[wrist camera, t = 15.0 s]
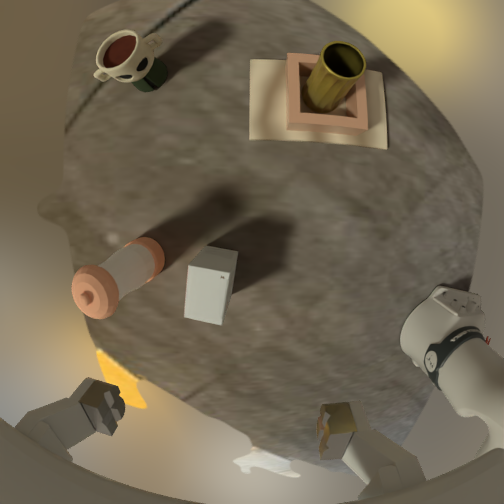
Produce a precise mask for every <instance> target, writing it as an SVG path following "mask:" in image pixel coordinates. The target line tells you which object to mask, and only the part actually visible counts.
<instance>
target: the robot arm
mask: <svg viewBox="0 0 504 504" xmlns="http://www.w3.org/2000/svg"><path fill="white" fill-rule="evenodd" d="M443 292H444V293H443ZM484 327H485V314H484V312H483V311H482V310H481V297H480V296H479V295H478V294H475V293H471V292H466V291H462V290H458V289H453V288H449V287H445V286H437V287H436V288H435V289H434V291H433V292H432V293H431V295H430V296H429V297H428V298H427V299H426V300H425V301H423V302H422V303H421V304H420V305H418V306H417V307H416V308H415V309H414V310H413V311H412V313H411V314H410V315H409V317H408V318H407V320H406V322H405V324H404V326H403V328H402V332H401V337H400V343H401V347H402V350H403V351H404V352H405V353H406V354H407V355H408V356H410V357H411V358H412V361H413V363H414V365H415V366H417V367H420V368H421V369H422V370H423V371H424V372H425V373H426V374H427V375H428V376H429V378H430V379H431V380H432V382H433V384H434V385H435V386H436V387H437V388H438V389H439V390H441V391H443V393H444V394H445V396H446V397H447V399H448V400H449V402H450V403H451V405H452V406H453V408H454V409H455V411H456V412H457V414H458V415H460V416H462V417H471V416H475V415H477V416H478V417H480V418H481V419H482V420H484V421H485V422H486V424H487V425H488V428H489V434H488V436H487V437H486V439H485V441H484V442H483V444H482V445H481V447H480V449H479V450H478V452H477V454H476V456H475V459H474V460H472V461H470V462H468V463H466V464H464V465H462V466H460V467H458V468H456V469H454V470H452V471H449V472H447V473H445V474H442V475H440V476H438V477H435V478H433V479H430V480H428V481H426V478H425V476H424V473H423V471H422V468H421V466H420V464H419V461H418V459H417V457H416V456H415V455H413V454H411V453H410V452H408V451H407V450H405V449H403V448H402V447H401V446H399V445H397V444H396V443H394V442H393V441H391V440H390V439H389V438H387V437H386V436H384V435H383V434H381V433H380V432H378V431H377V430H375V429H374V430H371V427H370V424H369V421H368V418H367V416H366V413H365V410H364V407H363V405H362V402H361V401H360V400H359V401H351V402H341V403H330V404H322V405H321V408H320V414H321V416H320V417H318V420H317V428H316V432H317V439H318V440H319V441H320V445H319V454H320V460H331V459H342V460H343V461H344V462H345V463H346V464H347V465H348V466H349V467H350V468H351V469H352V470H353V471H354V472H355V473H356V474H357V475H358V476H359V477H360V478H361V479H362V480H363V481H364V482H365V483H366V484H367V486H366V488H365V489H364V490H363V491H362V492H361V493H360V495H359V496H358V500H357V501H352V502H345V503H339V504H504V358H503V357H501V356H500V355H499V354H498V353H497V352H496V351H494V350H493V349H492V348H491V347H490V346H489V342H490V339H489V341H488V336H487V338H486V341H485V339H484V337H483V335H482V334H483V331H484ZM487 342H488V343H487ZM119 394H120V390H119V388H118V386H116V385H112V384H109V383H105V382H102V381H99V380H95V379H92V378H89V377H88V378H86V379H85V380H84V381H83V382H82V383H81V384H80V386H79V387H78V388H77V389H76V390H75V392H74V393H73V394H72V395H71V397H70V398H64V399H62V400H59V401H56V402H54V403H51V404H48V405H46V406H43V407H40V408H38V409H35V410H32V411H29V412H27V414H26V415H25V416H24V417H23V418H22V419H21V420H20V422H19V423H18V424H17V425H16V426H15V428H14V427H12V426H11V425H10V424H8V423H7V422H6V421H4V420H3V419H2V418H0V504H204V503H197V502H192V501H186V500H181V499H177V498H172V497H168V496H163V495H159V494H156V493H152V492H148V491H144V490H141V489H138V488H135V487H131V486H129V485H126V484H123V483H120V482H117V481H114V480H112V479H109V478H106V477H104V476H101V475H99V474H97V473H94V472H92V471H90V470H87V469H85V468H83V467H81V466H79V465H76V464H74V463H72V460H73V458H72V456H71V455H70V454H69V452H68V451H67V449H69V448H71V447H72V446H74V445H76V444H77V443H79V442H81V441H82V440H84V439H85V438H87V437H89V436H90V435H92V434H94V433H95V432H96V431H97V432H100V433H103V434H106V435H109V436H112V435H113V433H114V432H115V430H116V428H117V426H118V425H117V421H118V420H121V419H122V417H123V415H124V412H125V403H124V400H123V399H122V398H121V397H120V396H119Z"/></svg>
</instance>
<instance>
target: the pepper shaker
mask: <svg viewBox="0 0 504 504" xmlns="http://www.w3.org/2000/svg"><path fill="white" fill-rule="evenodd" d="M164 263H165V256H164V252H163V250H162V248H161V246H160V245H159V244H158V243H157V241H155V240H153V239H152V238H148V237H140V238H138V239H135V240H133V241H131V242H129V243H128V244H126V245H125V246H124V247H123V248H121V249H120V250H118V251H116V252H115V253H114V254H113V255H112V256H111V257H110V258H108V259H107V260H106V261H105V262H103V263H102V264H100V265H98V266H96V265H85V266H83V267H81V268H80V269H79V270H78V271H77V273H76V274H75V276H74V278H73V282H72V295H73V298H74V301H75V303H76V304H77V306H78V307H79V309H80V310H81V311H82V312H83V313H84V314H86V315H87V316H89V317H92V318H95V319H104V318H106V317H109V316H111V315H112V314H113V313H114V312H115V311H116V308H117V305H118V303H119V300H120V299H121V298H122V297H124V296H125V295H126V294H127V293H129V292H131V291H134V290H136V289H138V288H140V287H141V286H142V285H143V284H144V283H147V282H149V281H151V280H152V279H153V278H154V277H155V276H157V275H158V274H159V273H160V272H161V271H162V269H163V267H164Z"/></svg>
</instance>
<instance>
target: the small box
mask: <svg viewBox="0 0 504 504" xmlns="http://www.w3.org/2000/svg"><path fill="white" fill-rule="evenodd" d="M237 257H238V251H233V250H228V249H222V248H217V247H212V246H205V247H204V248H203V249H202V250H201V251H200V252H199V253H198V255H197V256H196V257H195V258H194V259H193V260H192V261H191V263H190V264H189V265H188V272H187V284H186V295H185V308H184V317H187V318H191V319H195V320H200V321H204V322H208V323H213V324H218V325H223V322H224V319H225V315H226V312H227V308H228V305H229V302H230V298H231V295H232V288H233V282H234V276H235V269H236V263H237Z"/></svg>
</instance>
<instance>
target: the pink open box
mask: <svg viewBox="0 0 504 504" xmlns="http://www.w3.org/2000/svg"><path fill="white" fill-rule="evenodd" d="M319 56H320V55H311V54H299V53H287V59H286V66H285V76H286V130H290V131H309V132H323V133H334V134H344V135H353V136H357V135H359V134H361V133H363V132H365V131H367V130H368V115H367V99H366V87H365V77H364V74H363V75H362V76H361V77H360V78H359V79H358V80H357V82H356V83H355V84H354V85H353V87H352V88H351V89H350V90H349V92H348V93H347V94H346V95H345V96H346V116H347V117H344V116H335V115H325V114H313V113H300V84H299V76H305V77H310V75H311V72H312V70H313V68H314V67H315V65H316V63H317V61H318V59H319Z"/></svg>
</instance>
